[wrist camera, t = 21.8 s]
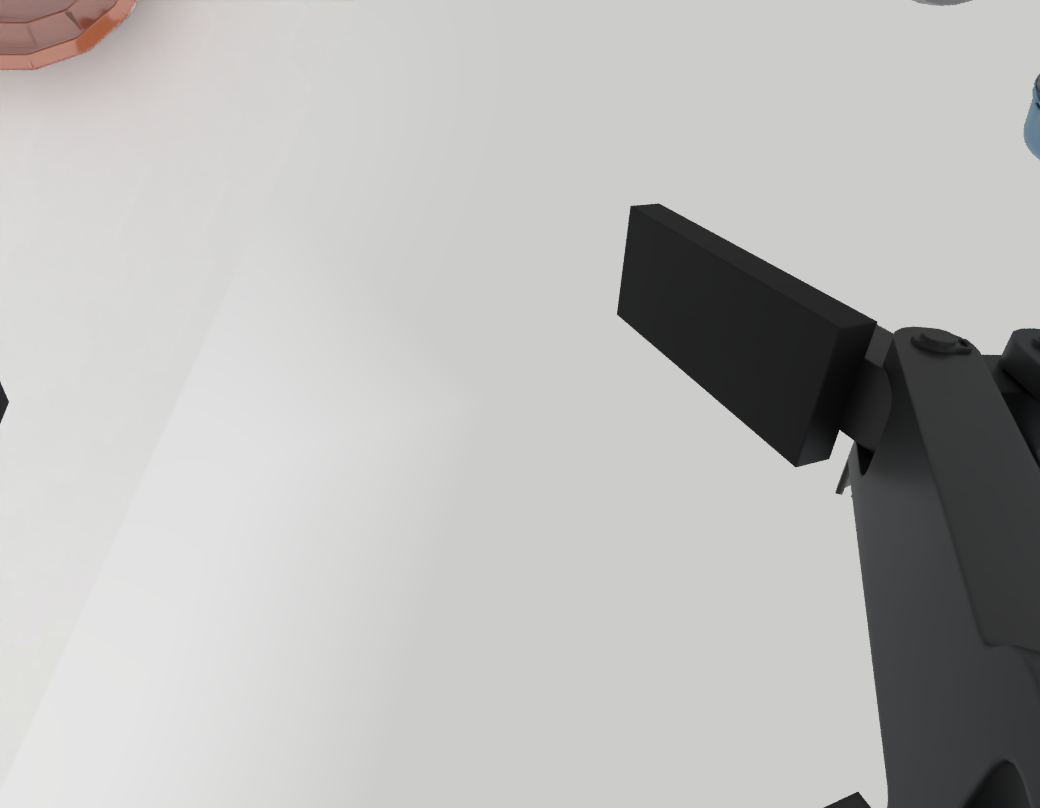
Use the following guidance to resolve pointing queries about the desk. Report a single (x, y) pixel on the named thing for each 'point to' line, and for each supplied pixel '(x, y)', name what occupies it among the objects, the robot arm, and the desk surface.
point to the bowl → (55, 29)
